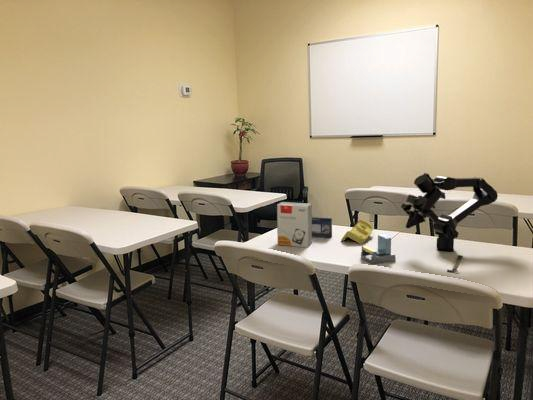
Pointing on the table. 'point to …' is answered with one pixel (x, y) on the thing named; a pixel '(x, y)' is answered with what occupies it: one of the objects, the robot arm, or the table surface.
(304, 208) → the hard drive box
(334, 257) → the table surface
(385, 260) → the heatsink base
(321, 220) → the vhs cassette tape
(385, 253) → the grey-blue brushed block
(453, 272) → the tomahawk
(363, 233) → the plastic component
